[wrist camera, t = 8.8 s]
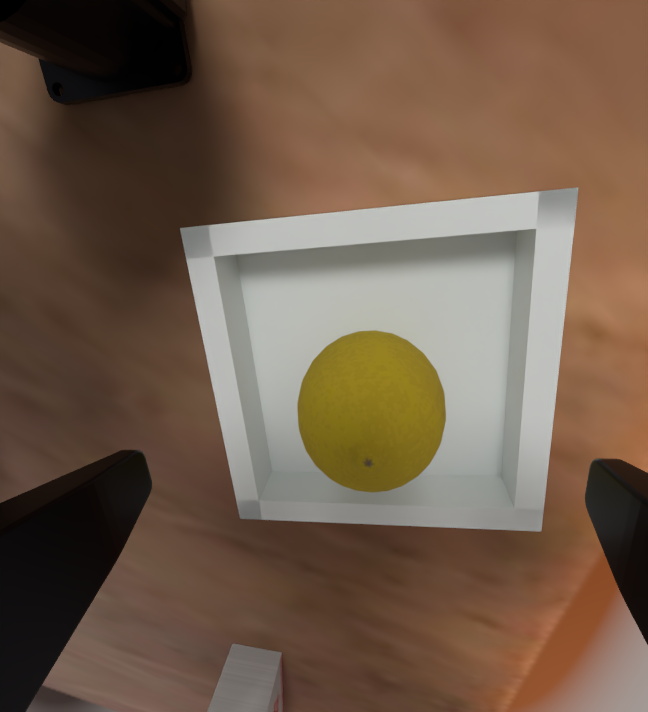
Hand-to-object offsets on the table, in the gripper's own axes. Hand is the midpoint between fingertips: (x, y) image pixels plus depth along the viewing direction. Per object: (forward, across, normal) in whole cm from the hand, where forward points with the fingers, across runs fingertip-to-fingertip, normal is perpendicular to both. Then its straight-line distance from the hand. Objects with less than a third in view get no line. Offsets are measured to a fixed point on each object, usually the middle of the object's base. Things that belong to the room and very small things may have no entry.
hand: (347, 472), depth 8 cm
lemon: (+11, 0, +2) cm, 12 cm away
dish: (+12, 0, +2) cm, 12 cm away
